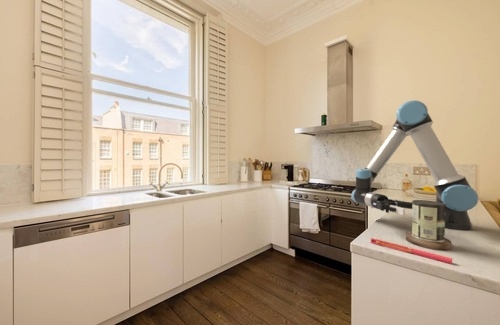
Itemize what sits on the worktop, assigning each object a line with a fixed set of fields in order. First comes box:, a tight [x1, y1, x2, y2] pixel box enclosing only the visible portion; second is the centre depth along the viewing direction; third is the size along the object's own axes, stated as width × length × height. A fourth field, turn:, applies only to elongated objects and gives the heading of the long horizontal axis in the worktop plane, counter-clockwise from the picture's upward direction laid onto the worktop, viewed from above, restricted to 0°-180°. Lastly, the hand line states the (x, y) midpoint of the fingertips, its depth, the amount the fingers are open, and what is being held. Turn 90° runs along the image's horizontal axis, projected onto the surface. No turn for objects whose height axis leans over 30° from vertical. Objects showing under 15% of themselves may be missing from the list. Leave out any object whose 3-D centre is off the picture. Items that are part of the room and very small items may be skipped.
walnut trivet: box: [405, 231, 453, 251], centre depth 87 cm, size 14×14×2 cm
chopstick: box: [370, 237, 454, 265], centre depth 79 cm, size 24×2×5 cm
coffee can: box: [411, 199, 446, 242], centre depth 87 cm, size 10×10×14 cm
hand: (417, 211), depth 91 cm, fingers open, 13 cm apart
